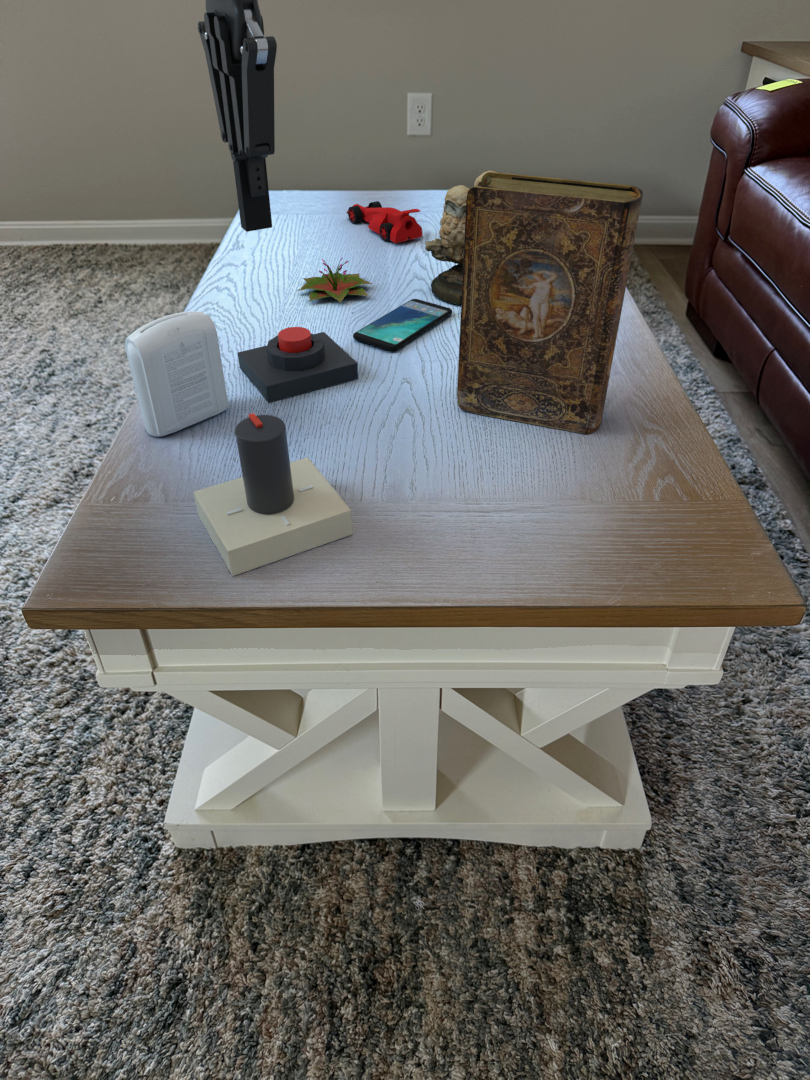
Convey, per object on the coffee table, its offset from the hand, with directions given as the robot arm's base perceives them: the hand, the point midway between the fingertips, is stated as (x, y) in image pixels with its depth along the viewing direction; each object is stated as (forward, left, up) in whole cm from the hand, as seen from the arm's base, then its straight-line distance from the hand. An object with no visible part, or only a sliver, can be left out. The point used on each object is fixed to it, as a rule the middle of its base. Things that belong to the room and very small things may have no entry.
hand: (256, 227), depth 78 cm
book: (+26, -14, -22) cm, 36 cm away
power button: (+6, +8, -18) cm, 20 cm away
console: (-8, -19, -21) cm, 30 cm away
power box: (+6, +8, -21) cm, 24 cm away
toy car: (+40, +50, -22) cm, 67 cm away
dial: (-8, -19, -18) cm, 28 cm away
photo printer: (-10, +4, -22) cm, 24 cm away
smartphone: (+24, +13, -21) cm, 34 cm away
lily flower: (+21, +29, -22) cm, 42 cm away
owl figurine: (+40, +17, -22) cm, 48 cm away
